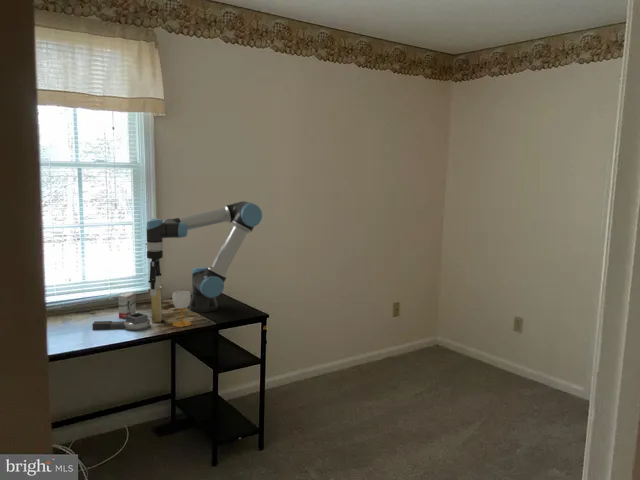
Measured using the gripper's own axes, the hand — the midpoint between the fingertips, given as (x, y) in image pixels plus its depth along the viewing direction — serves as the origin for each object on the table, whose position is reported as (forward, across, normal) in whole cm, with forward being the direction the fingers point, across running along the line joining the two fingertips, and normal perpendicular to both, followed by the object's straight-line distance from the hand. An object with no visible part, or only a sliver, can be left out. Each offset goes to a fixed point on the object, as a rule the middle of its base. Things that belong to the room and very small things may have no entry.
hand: (155, 291), depth 269 cm
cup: (+15, +6, +14) cm, 21 cm away
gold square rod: (+15, 0, 0) cm, 15 cm away
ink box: (+16, -10, -16) cm, 24 cm away
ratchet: (+15, +9, -14) cm, 23 cm away
